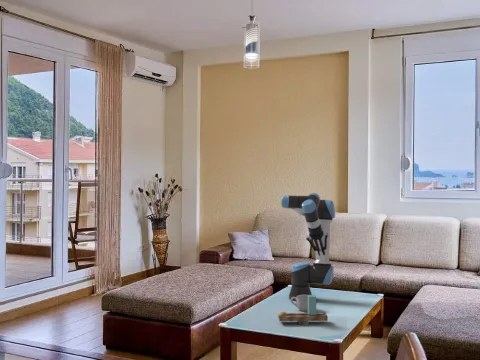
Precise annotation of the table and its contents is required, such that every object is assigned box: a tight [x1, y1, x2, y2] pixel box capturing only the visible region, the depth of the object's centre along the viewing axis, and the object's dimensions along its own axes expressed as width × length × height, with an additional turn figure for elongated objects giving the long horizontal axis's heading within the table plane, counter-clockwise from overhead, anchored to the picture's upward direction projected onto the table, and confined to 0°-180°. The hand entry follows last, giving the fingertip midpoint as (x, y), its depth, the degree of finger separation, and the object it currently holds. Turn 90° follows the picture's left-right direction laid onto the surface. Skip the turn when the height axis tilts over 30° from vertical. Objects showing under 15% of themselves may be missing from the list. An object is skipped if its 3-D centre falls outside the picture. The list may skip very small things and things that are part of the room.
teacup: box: [290, 295, 308, 312], centre depth 314 cm, size 14×11×8 cm
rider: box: [307, 294, 317, 315], centre depth 288 cm, size 4×4×12 cm
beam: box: [277, 311, 329, 326], centre depth 288 cm, size 26×7×6 cm, turn 92°
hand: (323, 259), depth 310 cm, fingers closed
